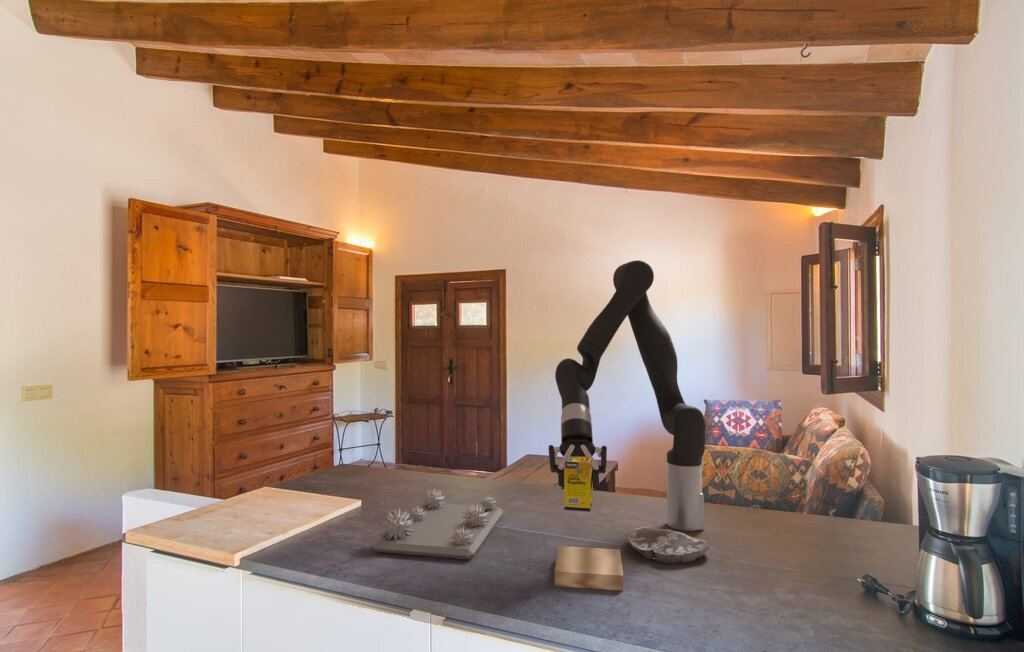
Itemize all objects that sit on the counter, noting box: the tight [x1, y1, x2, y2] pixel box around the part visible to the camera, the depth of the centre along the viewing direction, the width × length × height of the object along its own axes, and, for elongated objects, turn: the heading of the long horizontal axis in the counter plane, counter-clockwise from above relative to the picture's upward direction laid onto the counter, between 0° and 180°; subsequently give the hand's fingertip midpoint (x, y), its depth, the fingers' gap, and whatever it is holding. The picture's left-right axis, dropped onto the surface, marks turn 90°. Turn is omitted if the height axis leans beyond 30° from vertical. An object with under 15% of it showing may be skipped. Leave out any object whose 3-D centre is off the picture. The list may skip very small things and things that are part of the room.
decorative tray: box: [372, 489, 504, 560], centre depth 143 cm, size 35×26×10 cm
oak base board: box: [554, 545, 624, 592], centre depth 117 cm, size 14×14×3 cm
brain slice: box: [625, 526, 711, 564], centre depth 129 cm, size 20×17×3 cm
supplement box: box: [563, 456, 593, 513], centre depth 122 cm, size 6×6×11 cm
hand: (578, 487), depth 120 cm, fingers closed on supplement box, 6 cm apart
